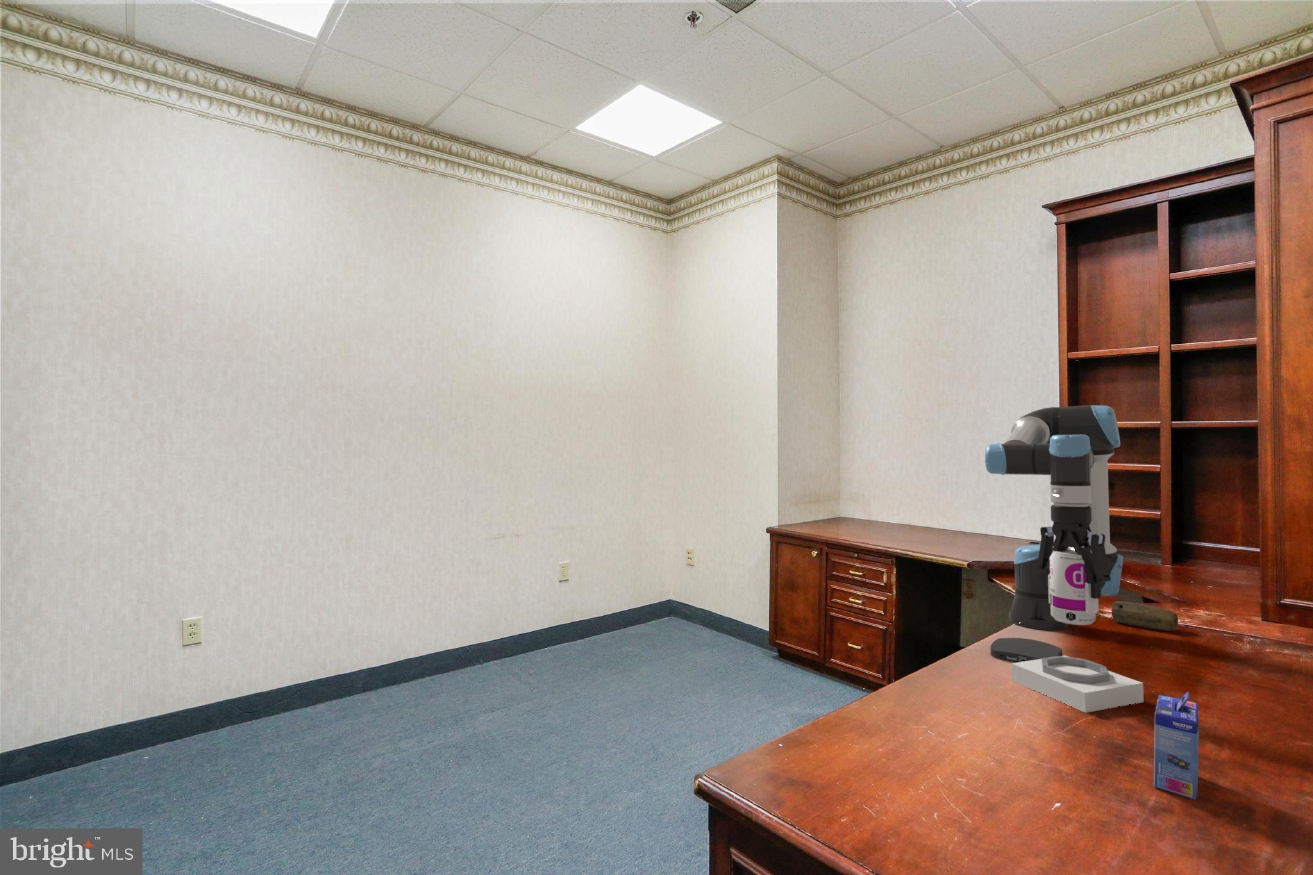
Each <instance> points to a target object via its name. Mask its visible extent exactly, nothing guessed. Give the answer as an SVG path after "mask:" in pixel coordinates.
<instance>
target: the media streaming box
mask: <svg viewBox="0 0 1313 875" xmlns="http://www.w3.org/2000/svg"><path fill="white" fill-rule="evenodd" d="M990 656H992V657H993V658H995V659H998V660H1001V661H1006V662H1009V663H1017V662H1024V661H1031V660H1038V659H1042V658H1047V657H1054V656H1063V648H1061V647H1059V646H1056V645H1054V644H1053V643H1052V644H1051V643H1049V642H1044V641H1041V640H1036V639H1029V638H1023V637H1000V638H997V639H995V640H994V641H993V642H992V643H991V645H990Z"/></svg>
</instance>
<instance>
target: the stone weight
mask: <svg viewBox="0 0 1313 875" xmlns="http://www.w3.org/2000/svg"><path fill="white" fill-rule="evenodd" d="M1111 617H1112V619H1113V620H1114V621H1115V622H1118V623H1121V624H1123V625H1128V626H1132V627H1137V628H1144V629H1151V630H1157V631H1165V632H1167V631H1170V632H1173V631H1175V630H1176V629H1177V628H1178V627H1179V616H1178V613H1176V612H1174V611H1172V610H1170V609H1166V608H1164V607H1163V608H1162V607H1159V606H1153V605H1148V604H1142V603H1138V602H1132V601H1123V600H1117V601H1113V603H1112V607H1111Z"/></svg>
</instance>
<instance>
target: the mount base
mask: <svg viewBox="0 0 1313 875" xmlns="http://www.w3.org/2000/svg"><path fill="white" fill-rule="evenodd" d="M1011 681H1012V682H1014V683H1016V684H1019V685H1021V686H1022V687H1025V686H1026V687H1025V688H1026V689H1027V688H1028V689H1030V690H1033V691H1034V690H1035V692H1037V693H1039V692H1040V693H1039V694H1042V695H1043V694H1044V696H1046V695H1047V697H1049V698H1050V697H1051V698H1050V699H1052V700H1055V699H1056V700H1055V701H1057V700H1058V701H1057V702H1060V701H1061V702H1060V703H1062V704H1064V703H1065V704H1064V705H1066V704H1067V706H1068V707H1071V706H1072V707H1071V708H1074V709H1076V710H1078V711H1080V712H1082V713H1086V714H1087V713H1091V712H1096V711H1102V710H1108V708H1109V709H1113V708H1119V707H1118V706H1120V707H1126V706H1130V705H1129V704H1131V705H1136V704H1140V703H1145V701H1144V682H1142V681H1138V680H1136V679H1133V678H1130V677H1127V676H1125V675H1121V674H1119V673H1116V672H1113V671H1110V670H1108V669H1107V667H1106V666H1105V665H1103V664H1100V663H1097V662H1094V661H1092V660H1088V659H1085V658H1079V657H1073V656H1071V657H1070V656H1068V655H1062V656H1054V657H1047V658H1042V659H1038V660H1031V661H1024V662H1017V663H1014V662H1011ZM1135 703H1136V704H1135Z"/></svg>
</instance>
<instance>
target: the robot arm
mask: <svg viewBox="0 0 1313 875" xmlns="http://www.w3.org/2000/svg"><path fill="white" fill-rule="evenodd" d="M1120 446H1121V437H1120V432H1119V426H1118V421H1117V416H1116V414H1115V410H1114V409H1113V408H1112V407H1111V406H1108V405H1094V404H1093V405H1092V404H1091V405H1074V406H1057V407H1056V406H1053V407H1052V406H1051V407H1043V408H1040V409H1037V410H1033V411H1032V412H1028V413H1027V414H1023V416H1021V417H1020V418H1018V419H1017V420H1016V421H1015V422H1014V423H1013V425H1012V427H1011V430H1010V435H1009V436H1008V437H1007V438H1006V440H1005V441H1004V442H1003V443H999V442H998V443H991V444H988V445H987V446H986V448H985V451H984V453H985V454H984V464H985V465H984V466H985V469H986V471H987V472H988V473H989V474H991V475H995V474H996V475H1001V476H1005V475H1032V476H1033V475H1034V476H1036V475H1037V476H1050V502H1051V503H1053V504H1051V505H1050V520H1051V521H1052V522H1053V524H1052V526H1041V527H1040V529H1039V531H1040V532H1039V533H1040V536H1041V539H1040V544H1028V545H1022V546H1019V547H1018V548H1016V549H1015V550H1014V559H1013V564H1014V598H1013V601H1012V603H1011V607H1010V610H1008V619H1009V622H1011V623H1013V624H1014V625H1017V624H1018V626H1021V627H1025V628H1029V629H1035V630H1047V631H1051V630H1052V631H1059V630H1065V629H1067V628H1068V627H1069V624H1068V623H1063V622H1059V621H1057V620H1055V619H1054V617H1052V616H1051V601H1050V556H1051V555H1052V553H1053V551H1054V550H1055V551H1057V552H1058V551H1066V550H1074V551H1075V552H1077V553H1078V555H1082V558H1083V561H1084V563H1085V573H1086V575H1087V578H1088V580H1089V581H1086V582H1085V606H1086V613H1087V614H1093V613H1096V614H1099V609H1100V608H1099V607H1100V606H1099V599H1101V597H1102V596H1105V597H1106V596H1107V597H1114V596H1116V595H1117V594H1118V593H1119V591H1120V585H1121V577H1122V572H1123V571H1122V569H1123V563H1124V556H1123V555H1121V554H1117V552H1118V550H1117V547H1115V545H1113V544H1112V543H1111V535H1110V534H1111V533H1110V530H1111V528H1110V506H1109V505H1110V501H1109V500H1110V499H1109V498H1110V497H1109V470H1108V469H1109V465H1108V460H1109V459H1110V458H1111V457H1112V456H1114V455H1115V449H1116V448H1120ZM1019 622H1021V623H1020V624H1019Z"/></svg>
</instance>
